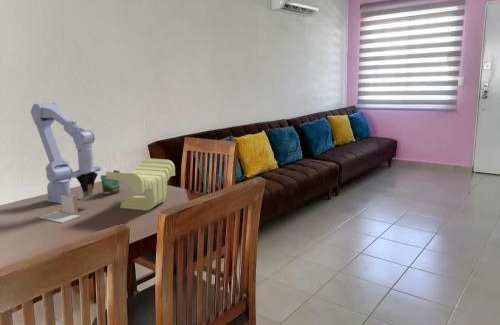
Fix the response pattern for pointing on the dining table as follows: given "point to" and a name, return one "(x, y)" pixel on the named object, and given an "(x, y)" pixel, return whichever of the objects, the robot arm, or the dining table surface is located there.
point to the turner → (86, 194)
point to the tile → (69, 203)
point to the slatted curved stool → (146, 182)
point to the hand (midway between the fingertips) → (87, 190)
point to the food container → (110, 185)
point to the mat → (59, 217)
